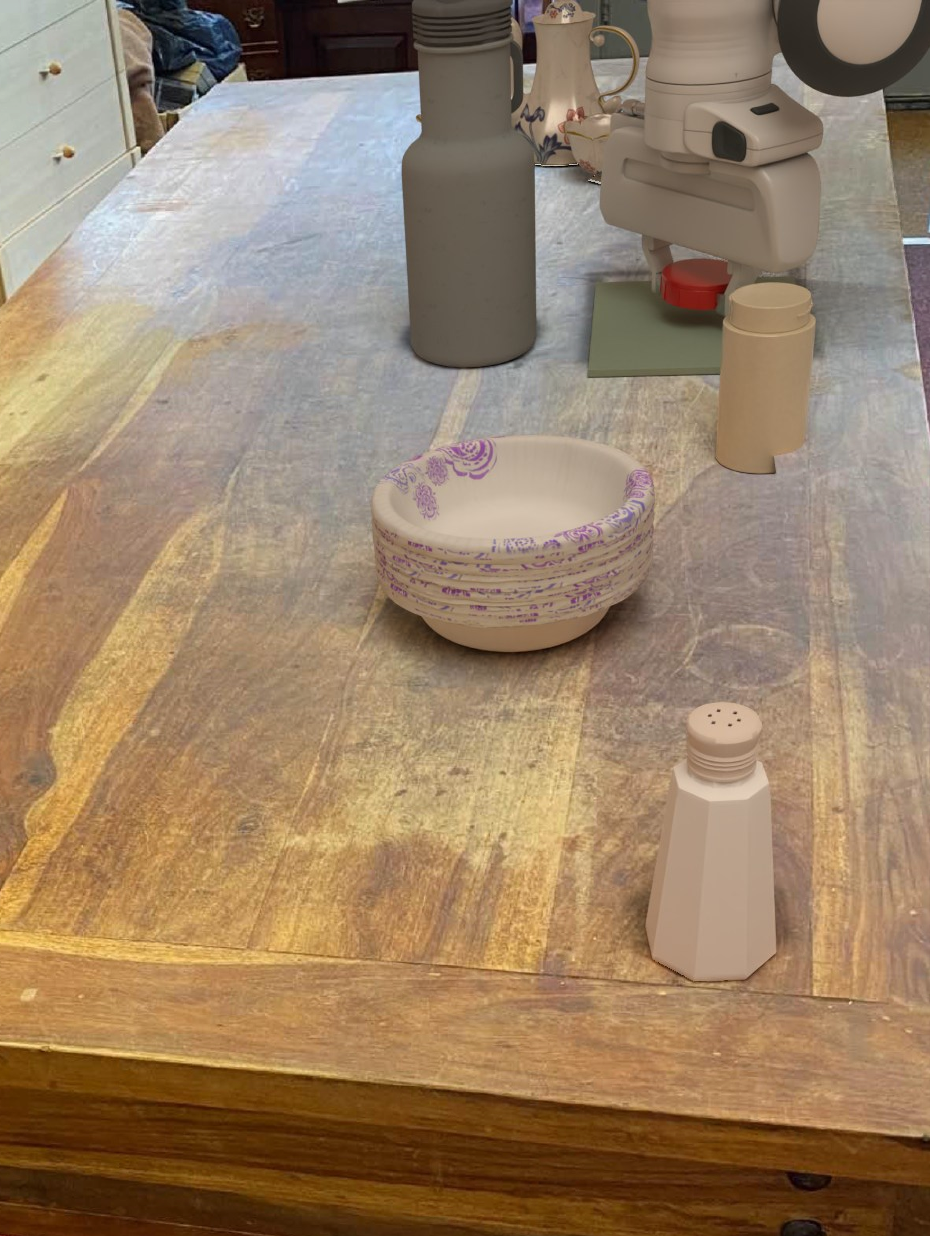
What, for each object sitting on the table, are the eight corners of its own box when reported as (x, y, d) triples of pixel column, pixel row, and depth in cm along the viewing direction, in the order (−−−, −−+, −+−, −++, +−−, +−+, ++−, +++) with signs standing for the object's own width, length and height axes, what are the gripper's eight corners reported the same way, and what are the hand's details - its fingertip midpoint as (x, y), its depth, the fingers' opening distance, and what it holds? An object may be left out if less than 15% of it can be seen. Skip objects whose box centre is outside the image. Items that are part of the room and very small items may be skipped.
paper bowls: (453, 536, 100) (448, 413, 95) (690, 577, 93) (696, 447, 88) (329, 651, 89) (316, 520, 85) (586, 707, 83) (587, 567, 78)
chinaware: (396, 190, 172) (377, 23, 161) (468, 134, 182) (455, -26, 171) (644, 209, 158) (642, 28, 148) (707, 147, 168) (709, -26, 158)
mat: (793, 282, 132) (793, 275, 132) (812, 372, 117) (813, 364, 116) (595, 289, 135) (595, 282, 135) (587, 377, 119) (587, 369, 119)
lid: (696, 316, 121) (698, 292, 120) (644, 293, 126) (645, 269, 124) (757, 298, 124) (759, 274, 123) (703, 276, 128) (706, 252, 127)
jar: (800, 438, 107) (813, 278, 101) (807, 473, 103) (822, 308, 97) (713, 440, 108) (722, 281, 102) (717, 474, 104) (726, 311, 98)
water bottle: (433, 322, 132) (414, -62, 116) (550, 326, 129) (548, -68, 113) (395, 367, 124) (370, -38, 108) (519, 373, 121) (512, -44, 105)
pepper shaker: (627, 969, 66) (634, 744, 60) (661, 890, 70) (670, 671, 64) (762, 998, 64) (783, 768, 58) (789, 915, 68) (811, 691, 62)
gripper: (580, 103, 123) (580, 284, 131) (774, 145, 108) (760, 347, 116) (644, 87, 126) (640, 266, 134) (842, 126, 111) (824, 325, 119)
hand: (698, 304), depth 125 cm, fingers closed on lid, 6 cm apart
